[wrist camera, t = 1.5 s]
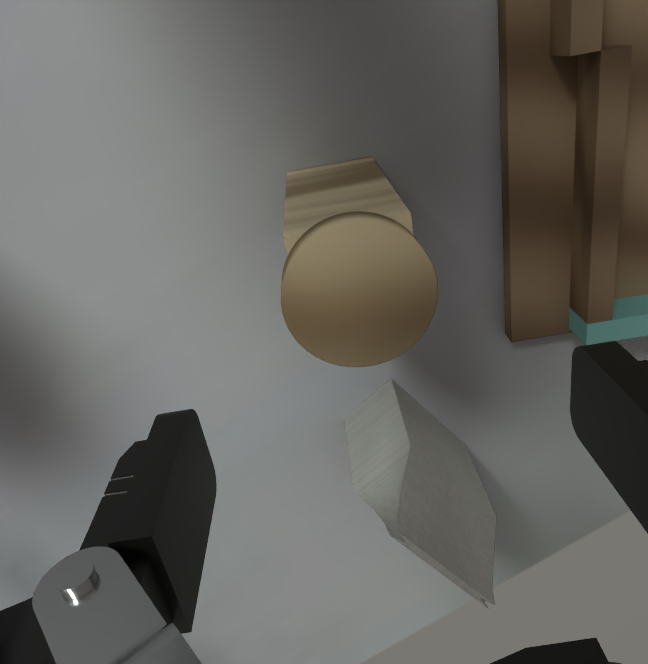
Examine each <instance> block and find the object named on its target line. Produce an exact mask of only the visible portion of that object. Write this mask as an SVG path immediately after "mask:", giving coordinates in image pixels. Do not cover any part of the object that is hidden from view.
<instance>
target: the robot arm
mask: <svg viewBox="0 0 648 664" xmlns="http://www.w3.org/2000/svg"><path fill="white" fill-rule="evenodd" d="M570 414H571V420H572V424H573V427H574V430H575V432H576V435H577V436H578V438H579V440H580V441H581V442H582V444H583V445H584V447H585V448H586V449H587V451H588V452H589V453H590V455H591V456H592V458H593V459H594V460H595V462H596V463H597V464H598V466H599V467H600V469H601V470H602V471H603V473H604V474H605V475H606V477H607V478H608V480H609V481H610V482H611V484H612V485H613V486H614V488H615V489H616V491H617V492H618V493H619V495H620V496H621V497H622V499H623V500H624V501H625V503H626V504H627V506H628V507H629V508H630V510H631V511H632V512H633V514H634V515H635V517H636V518H637V519H638V520H639V522H640V523H641V524H642V526H643V528H644V529H645V530H646V532H647V533H648V361H647V360H643V361H637V360H636V359H635V358H634V357H633V356H632V355H631V354H630V353H629V352H628V351H626V350H625V349H624V348H623V347H622V346H621V345H620V344H619V343H617V342H615V341H609V342H603V343H597V344H591V345H585V346H579V347H576V348H575V349H574V351H573V355H572V372H571V400H570ZM104 494H105V497H102V500H101V502H100V504H99V506H98V509H97V511H96V513H95V516H94V518H93V520H92V523H91V525H90V527H89V530H88V532H87V534H86V536H85V539H84V541H83V543H82V546H81V548H80V550H79V551H77V552H75V553H73V554H71V555H69V556H67V557H65V558H64V559H62V560H61V561H59V562H58V563H57V564H56V565H54V566H53V567H52V568H51V569H50V570H49V571H48V572H47V573H46V574H45V575H44V576H43V578H42V579H41V580H40V582H39V583H38V585H37V587H36V589H35V591H34V594H33V597H32V598H30V599H28V600H26V601H23V602H21V603H18V604H16V605H14V606H11V607H9V608H6V609H4V610H1V611H0V664H202V663H201V662H200V660H199V659H198V658H197V656H196V655H195V653H194V652H193V650H192V649H191V648H190V646H189V645H188V643H187V642H186V640H185V639H184V637H183V636H182V635H181V633H188V632H191V631H192V625H193V619H194V614H195V608H196V603H197V597H198V592H199V586H200V581H201V575H202V570H203V564H204V559H205V553H206V547H207V542H208V536H209V531H210V525H211V520H212V514H213V509H214V503H215V498H216V475H215V469H214V465H213V462H212V459H211V456H210V453H209V450H208V446H207V443H206V440H205V437H204V434H203V431H202V428H201V424H200V421H199V418H198V416H197V413H196V412H195V410H193V409H188V410H182V411H176V412H170V413H164V414H158V415H157V416H156V418H155V420H154V423H153V425H152V428H151V431H150V433H149V436H148V439H147V440H143V441H137V442H135V443H134V444H133V445H132V446H131V447H130V448H129V449H128V450H127V451H126V452H125V453H124V455H123V456H122V457H121V458H120V459H119V460H118V463H117V465H116V467H115V470H114V472H113V474H112V477H111V481H109V483H108V486H107V488H106V490H105V493H104ZM491 664H620V663H615V662H608V660H607V658H606V656H605V654H604V652H603V650H602V648H601V647H600V644H599V642H598V640H597V639H596V638H591V639H584V640H577V641H570V642H563V643H556V644H550V645H542V646H536V647H529V648H524V649H522V650H520V651H518V652H516V653H514V654H511V655H509V656H506V657H505V658H502V659H500V660H497V661H495V662H493V663H491Z"/></svg>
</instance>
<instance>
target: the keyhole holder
mask: <svg viewBox="0 0 648 664" xmlns="http://www.w3.org/2000/svg"><path fill="white" fill-rule="evenodd" d="M498 33H499V76H500V119H501V163H502V206H503V249H504V293H505V334H506V335H507V337H508V338H509V339H510V341H511V342H517V341H523V340H529V339H535V338H541V337H547V336H552V335H558V334H564V333H570V332H573V333H574V334H575V335H576V336H577V337H578V338H579V339H580V340H581V341H582V342H583V343H584V344H585V345H591V344H597V343H603V342H609V341H618V340H624V339H630V338H636V337H642V336H648V0H498Z"/></svg>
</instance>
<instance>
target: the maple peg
mask: <svg viewBox="0 0 648 664" xmlns="http://www.w3.org/2000/svg"><path fill="white" fill-rule="evenodd" d="M283 238H284V243H285V248H286V252H287V259H286V262H285V265H284V269H283V274H282V285H281V306H282V313H283V316H284V319H285V322H286V324H287V327H288V329H289V331H290V332H291V334H292V335H293V337H294V338H295V339H296V341H297V342H298V343H299V344H300V345H301V346H302V347H303V348H304V349H305V350H306V351H308V352H309V353H311V354H312V355H314V356H315V357H317V358H319V359H321V360H323V361H326V362H328V363H331V364H335V365H339V366H346V367H366V366H372V365H377V364H380V363H383V362H386V361H389V360H391V359H393V358H395V357H397V356H399V355H400V354H402V353H404V352H405V351H406V350H408V349H409V348H410V347H411V346H413V345H414V344H415V343H416V342H417V341H418V340H419V339H420V337H421V336H422V335H423V333H424V332H425V331H426V329H427V327H428V326H429V324H430V322H431V320H432V317H433V315H434V312H435V309H436V305H437V297H438V285H437V278H436V274H435V271H434V268H433V265H432V263H431V261H430V259H429V257H428V256H427V254H426V253H425V251H424V249H423V248H422V246H421V245H420V243H419V242H418V240H417V239H416V238H415V236H414V235H413V227H412V217H411V213H410V211H409V210H408V208H407V207H406V206H405V204H404V203H403V201H402V200H401V198H400V197H399V195H398V194H397V193H396V191H395V190H394V188H393V187H392V185H391V184H390V182H389V181H388V179H387V178H386V177H385V175H384V174H383V172H382V171H381V169H380V168H379V166H378V165H377V164H376V162H375V161H374V159H373V158H372V157H368V158H362V159H357V160H351V161H346V162H340V163H335V164H329V165H323V166H318V167H312V168H307V169H301V170H296V171H290V172H287V182H286V198H285V214H284V231H283Z"/></svg>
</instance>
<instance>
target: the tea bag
mask: <svg viewBox="0 0 648 664" xmlns="http://www.w3.org/2000/svg"><path fill="white" fill-rule="evenodd" d="M344 422H345V430H346V437H347V445H348V452H349V460H350V467H351V475H352V482H353V489H354V490H355V491H356V492H357V493H358V494H359V495H360V496H361V497H362V498H363V499H364V500H365V501H366V502H367V503H368V504H369V505H370V506H371V507H372V508H373V509H374V510H375V511H376V513H377V514H378V515H379V517H380V518H381V519H382V521H383V522H384V523H385V525H386V527H387V529H388V532H389V534H390V536H391V537H393V538H394V539H395V540H397V541H398V542H399V543H401V544H402V545H403V546H405V547H406V548H407V549H409V550H410V551H412V552H413V553H414V554H416V555H417V556H418V557H420V558H421V559H422V560H424V561H425V562H426V563H428V564H429V565H430V566H432V567H433V568H434V569H436V570H437V571H438V572H440V573H441V574H443V575H444V576H445V577H447V578H448V579H449V580H451V581H452V582H453V583H455V584H456V585H457V586H459V587H460V588H461V589H463V590H464V591H465V592H467V593H468V594H470V595H471V596H472V597H474V598H475V599H476V600H478V601H479V602H480V603H482V604H483V605H484V606H486V607H487V608H488V606H487V605H486V603H485V601H484V600H486V601H488V602H490V603H492V604H494V605H495V602H494V595H493V559H494V545H495V532H496V519H497V517H496V515H495V512H494V510H493V508H492V505H491V503H490V501H489V498H488V496H487V494H486V491H485V489H484V487H483V484H482V482H481V480H480V477H479V475H478V473H477V470H476V468H475V466H474V463H473V461H472V459H471V456H470V454H469V452H468V449H467V447H466V445H465V444H464V443H463V442H462V441H461V440H460V439H458V438H457V437H456V436H455V435H454V434H453V433H452V432H451V431H449V430H448V429H447V428H446V427H445V426H444V425H443V424H441V423H440V422H439V421H438V420H437V419H436V418H435V417H434V416H432V415H431V414H430V413H429V412H428V411H427V410H426V409H425V408H423V407H422V406H421V405H420V404H419V403H418V402H417V401H416V400H414V399H413V398H412V397H411V396H410V395H409V394H408V393H407V392H405V391H404V390H403V389H402V388H401V387H400V386H399V385H398V384H396V383H395V382H394V381H393V380H392V379H390V380H389V381H388V382H387V383H385V384H384V385H383V386H382V387H381V388H379V389H378V390H377V391H376V392H375V393H373V394H372V395H371V396H370V397H369V398H368V399H366V400H365V401H364V402H363V403H362V404H360V405H359V406H358V407H357V408H356V409H354V410H353V411H352V412H351V413H350V414H348V415H347V416H346V417H345V418H344Z"/></svg>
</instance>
